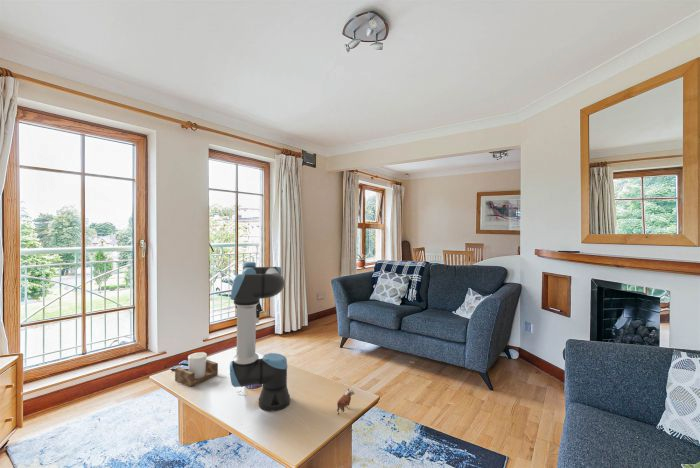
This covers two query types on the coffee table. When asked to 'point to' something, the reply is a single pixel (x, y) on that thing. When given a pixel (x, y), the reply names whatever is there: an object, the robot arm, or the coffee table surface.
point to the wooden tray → (188, 377)
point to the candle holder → (197, 364)
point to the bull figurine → (345, 400)
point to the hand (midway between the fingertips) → (248, 321)
